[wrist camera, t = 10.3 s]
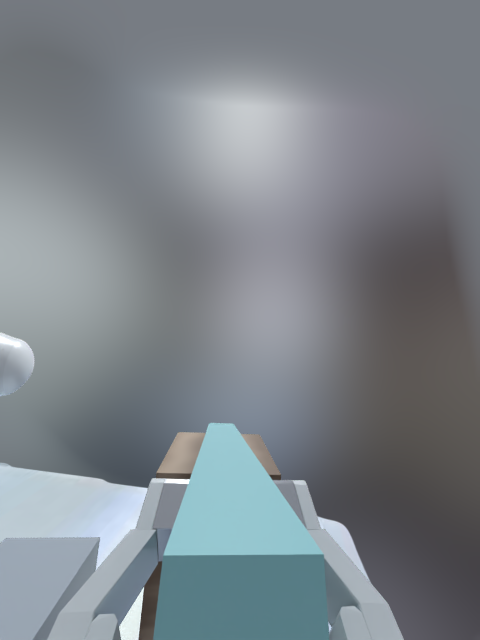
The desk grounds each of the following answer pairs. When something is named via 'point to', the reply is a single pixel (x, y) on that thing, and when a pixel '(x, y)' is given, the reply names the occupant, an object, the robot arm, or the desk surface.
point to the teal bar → (239, 555)
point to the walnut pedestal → (181, 467)
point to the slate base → (41, 582)
